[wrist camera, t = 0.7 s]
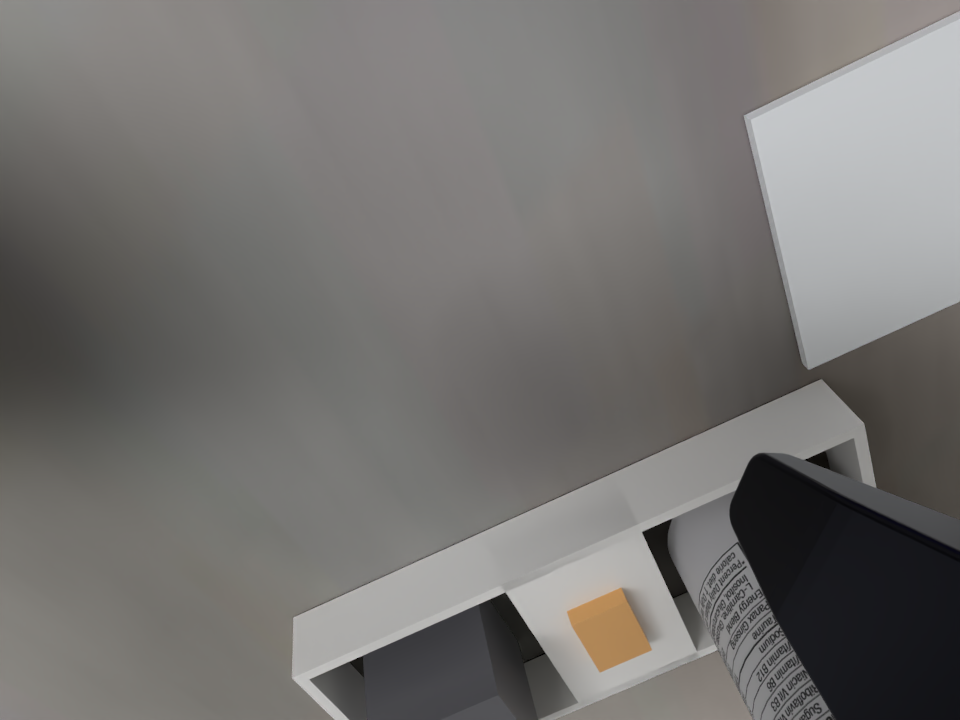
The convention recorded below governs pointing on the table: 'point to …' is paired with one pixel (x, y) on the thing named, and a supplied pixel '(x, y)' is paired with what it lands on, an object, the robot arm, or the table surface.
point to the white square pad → (866, 192)
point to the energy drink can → (741, 616)
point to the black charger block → (450, 672)
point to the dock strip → (578, 568)
